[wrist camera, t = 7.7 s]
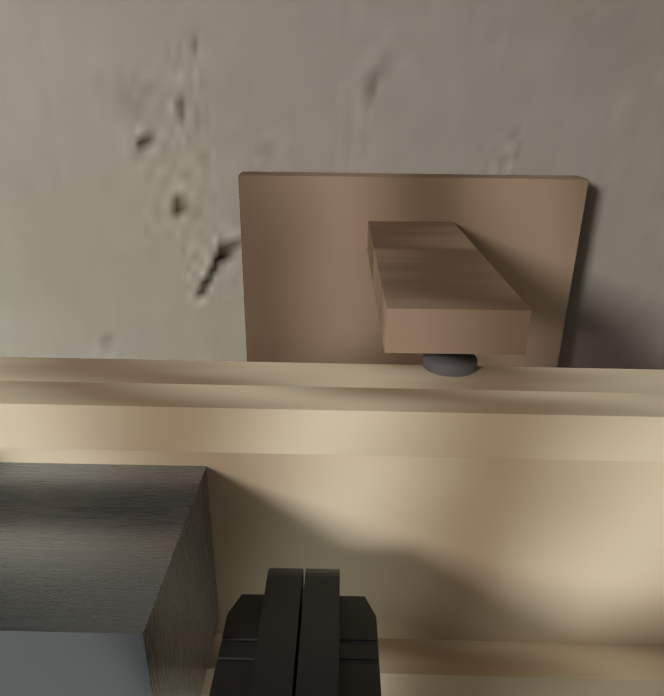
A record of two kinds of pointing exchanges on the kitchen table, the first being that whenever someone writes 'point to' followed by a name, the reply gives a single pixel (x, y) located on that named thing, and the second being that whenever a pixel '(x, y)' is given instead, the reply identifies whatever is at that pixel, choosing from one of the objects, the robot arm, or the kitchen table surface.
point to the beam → (405, 500)
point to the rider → (105, 580)
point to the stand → (407, 266)
